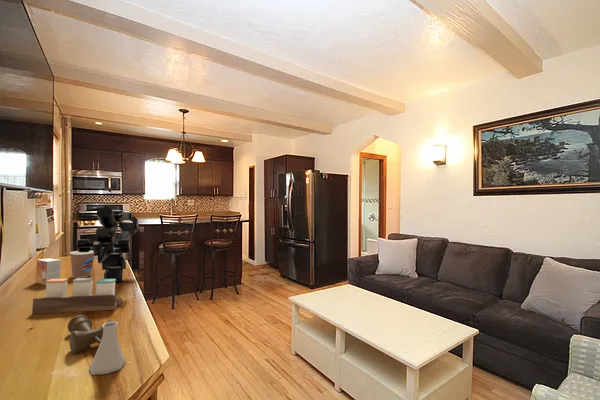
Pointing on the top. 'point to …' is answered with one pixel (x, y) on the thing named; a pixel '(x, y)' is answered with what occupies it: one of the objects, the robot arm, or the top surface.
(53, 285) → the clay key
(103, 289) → the teal key
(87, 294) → the grey key
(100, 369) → the flask
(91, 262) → the coffee cup
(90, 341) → the kendama
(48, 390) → the top surface
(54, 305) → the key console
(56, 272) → the small box
